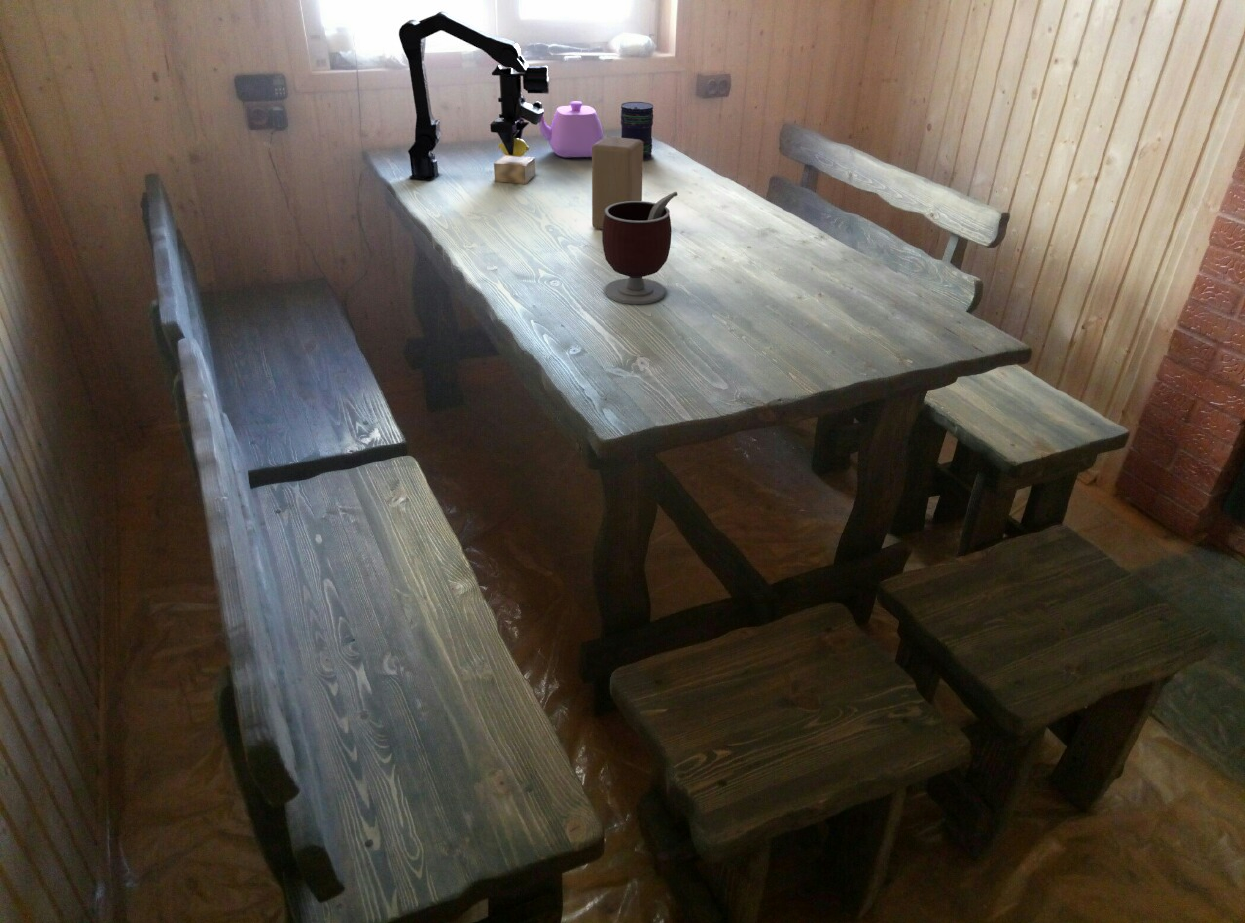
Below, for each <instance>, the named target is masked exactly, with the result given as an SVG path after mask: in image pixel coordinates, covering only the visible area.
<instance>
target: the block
mask: <svg viewBox="0 0 1245 923" xmlns="http://www.w3.org/2000/svg"><path fill="white" fill-rule="evenodd" d="M643 170H644V161H643V141H641V140H638V139H629V138H621V137H619V136H608V135H607V136H604V137H603V139H602V140H600V141H599V142H597V143H596V144H594V145H593V147H592V157H591V195H592V196H591V210H592V211H591V222H592V223H591V224H592V228H594V229H598V230H602V227H603V220H604V216H605V209H606V208H607V207H608V206H610V205H612V204H615V203H619V202H626V201H643V172H644V171H643Z"/></svg>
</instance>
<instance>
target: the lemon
mask: <svg viewBox="0 0 1245 923" xmlns="http://www.w3.org/2000/svg"><path fill="white" fill-rule="evenodd" d="M498 149H500V151H501V153H502V154H503V155H507V156H514V157H521V156H523V157H524V156H525V155H526V154H527V152H528V151H530V147H529V145H528V144H527V143H526V141H525V140H524V139H523V138H521V139H518V138H514V150H513V155H509V154H508V152H507V150H506V148H505V146H504V144H503V142H502V141H501V142H500V143H499V144H498Z"/></svg>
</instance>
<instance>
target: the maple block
mask: <svg viewBox="0 0 1245 923" xmlns="http://www.w3.org/2000/svg"><path fill="white" fill-rule="evenodd" d="M493 170H494V182H496V183H497V182H499V183H508V184H509V183H510V184H519V185H520V184H521V185H526V184H528V182H529V181H531V180H532V179H533V178H534V177H535V176H536V158H535V157H534V156H533V157H532V156H524V155H523V156H521V157H514V156H507V155H505V154H503V156H501V157H500V158H499V159H497V160H496V161H495V162H493Z"/></svg>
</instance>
